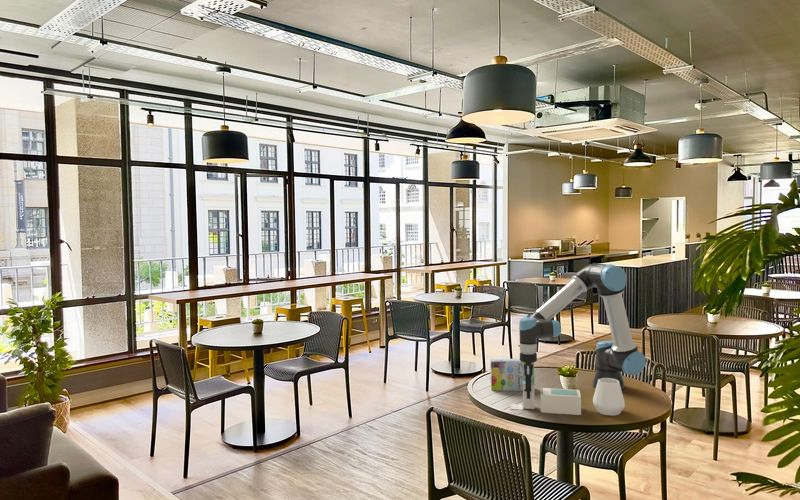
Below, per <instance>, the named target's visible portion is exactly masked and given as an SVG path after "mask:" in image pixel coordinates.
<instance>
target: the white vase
mask: <svg viewBox="0 0 800 500" xmlns="http://www.w3.org/2000/svg"><path fill="white" fill-rule="evenodd" d="M593 394H594V395H593V398H592V402H593V403H592V404H593V406H594V407H595V408H594V409H596V412H598V413H599V414H601V415H604V416H619V415H620V414H621V412H622V411H623V410H624V408H625V406H626V402H625V398H624V395H623V391H622V390H621V387H620V383H619V381H618V380H616V379H612V378H601V379H599V380H598V382H597V386H596V388H595V390H594V393H593Z"/></svg>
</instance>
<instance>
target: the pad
mask: <svg viewBox="0 0 800 500" xmlns="http://www.w3.org/2000/svg"><path fill="white" fill-rule="evenodd" d="M509 409H510V410H512V411H513V410H515V411H524V408H523V403H522V404H521V403H520V404H519V403H511V404H510V407H509Z"/></svg>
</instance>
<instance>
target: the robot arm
mask: <svg viewBox="0 0 800 500" xmlns="http://www.w3.org/2000/svg"><path fill="white" fill-rule="evenodd" d="M627 277H628V276H627V274H626V271H625V270H624V269H623V268H621V267H620V266H619V265H616V264H608V263H607V264H606V263H598V262H593V263H591V264H587V265H586V266H584V267H582V268H581V269H580V270H578V271H577V272H575V273H574V274H573V275H572V276H571V278H570V279H571V280H570V281H569V282H568V283H566V284H565V285H564V286H563V287H561V289H559V290H558V291H557V292H556V293H555V294H554V295H552V297H550V298H549V299H548V300H547V301H546V302H545V303H543V304H542V305H541V306H540V307H539V308H537V309H536V310H535V311H534V312H533V313H532V314H527V315H524V316H523V317H521V318H520V320H519V326H518V327H519V328H518V329H519V331H518V332H519V344H518V345H517V347H519V359H520V361H522V362H525V363H526V364H524V375H525V387H526V389H525V390H524V391H525V404H526V405H529V406H532V390H531V376H532V370H533V365H532V364H531V363H532V362H534V363H536V362H537V361H538V353H537V352H538V342H537V341H538V340H537V339H545V338H547V339H549V338H551V339H552V338H555V337H559V336H560V335H561V334H562V325H561V323H560V322H559V320H554V319H553V318H554V317H555V316H556V315H558V314H559V313H560V312H561V311H563V309H564V308H566V307H567V306H568V305H569V304H570V303H571V302H572V301H573V300H575V299H576V298H577V297H578V296H579V295H581V294H582V293H586V292H588V291H589V289H592V288H597V289H596V290H597V293H598V296H600V297H601V298H602V301H603V304H604V309H605V312H606V318H607V321H608V326H609V330H610V334H611V339H612V340H603V341H602V340H601V341H598V342H597V343H596V348H595V367H596V370H595V373H594V377H593V379H592V386H593V387H594V388H595V389H596V386H597V382H598V380H599V379H601V378H612V379H616V380H618V381H619V383H620V387H621V390H624V389H625V385H626V384H625V380H624V377H623V374H622V373H624V374H625V375H630V376H636V375H638V374H640V373H641V372H642V371H643V370H644V368H645V366H646V362H647V361H646V356H645V355H644V353H642V352H641V351H639V348H638V343H636V342H635V341H633V337H632V334H631V333H632V332H631V329H630V323H629V318H628V315H627V311H626V307H625V303H624V298H623V293H624V292H625V287H626V284H627V281H628V279H627Z"/></svg>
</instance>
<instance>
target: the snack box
mask: <svg viewBox="0 0 800 500" xmlns="http://www.w3.org/2000/svg"><path fill="white" fill-rule="evenodd" d="M489 361H490V370H489V371H490V389H491V391H492V392H493V391H503V392H504V391H506V392H507V391H513V392H514V391H515V392H516V391H520V392H521V391H522V392H523V381H525V375H524V364H526V363H525V362H522V361H520V358H490V359H489ZM531 364H532V365H533V370H532V376H531V381H533V382H534V383H535V362H532V363H531Z"/></svg>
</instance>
